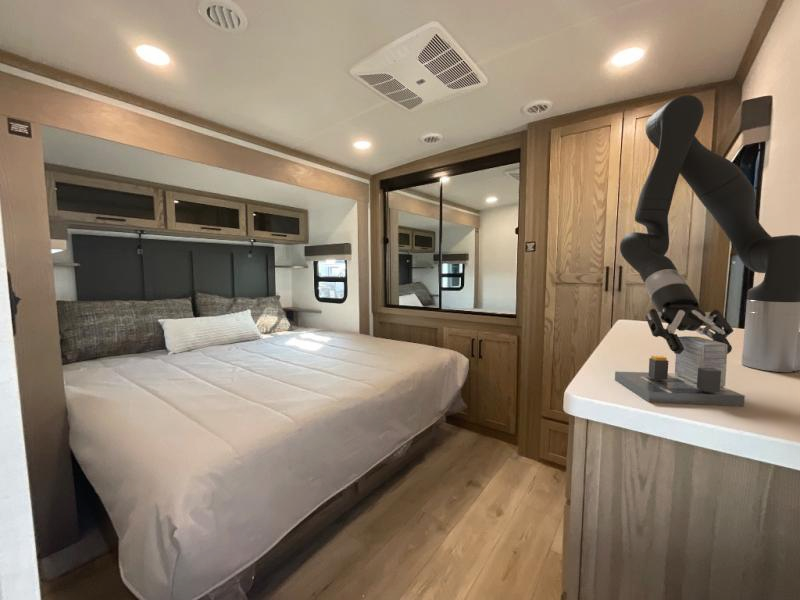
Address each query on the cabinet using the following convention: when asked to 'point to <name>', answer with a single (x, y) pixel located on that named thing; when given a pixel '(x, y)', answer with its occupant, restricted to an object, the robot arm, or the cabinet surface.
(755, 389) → the cabinet surface
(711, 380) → the block
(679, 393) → the board
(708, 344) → the light grey block
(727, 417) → the cabinet surface
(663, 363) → the block
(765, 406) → the cabinet surface
